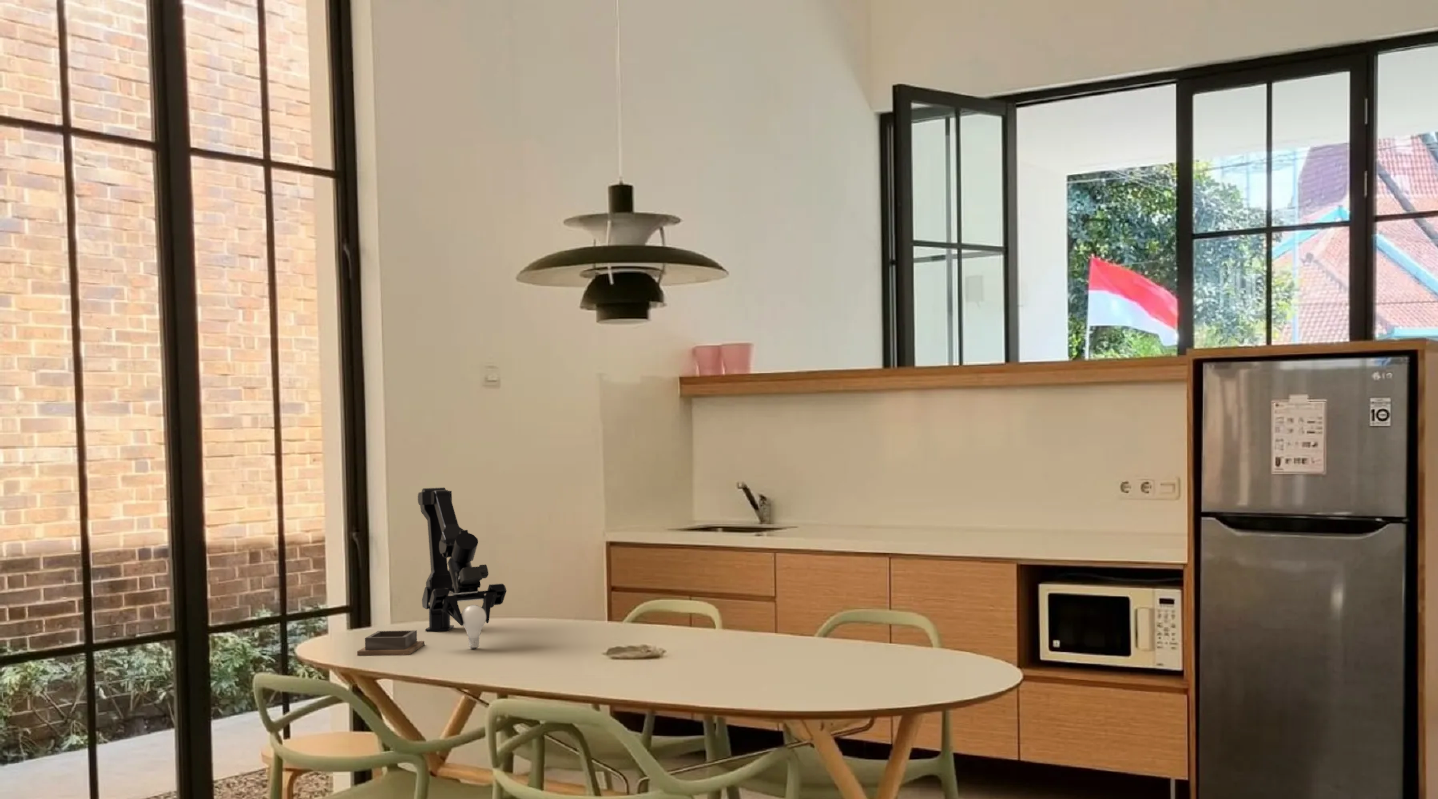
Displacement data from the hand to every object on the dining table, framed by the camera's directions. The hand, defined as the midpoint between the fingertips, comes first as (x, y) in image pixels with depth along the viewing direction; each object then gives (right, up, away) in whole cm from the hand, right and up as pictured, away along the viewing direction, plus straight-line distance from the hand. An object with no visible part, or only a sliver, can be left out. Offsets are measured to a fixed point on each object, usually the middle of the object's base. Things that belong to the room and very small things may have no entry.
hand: (475, 623), depth 298 cm
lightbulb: (0, -7, +1) cm, 7 cm away
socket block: (-21, -7, +2) cm, 23 cm away
